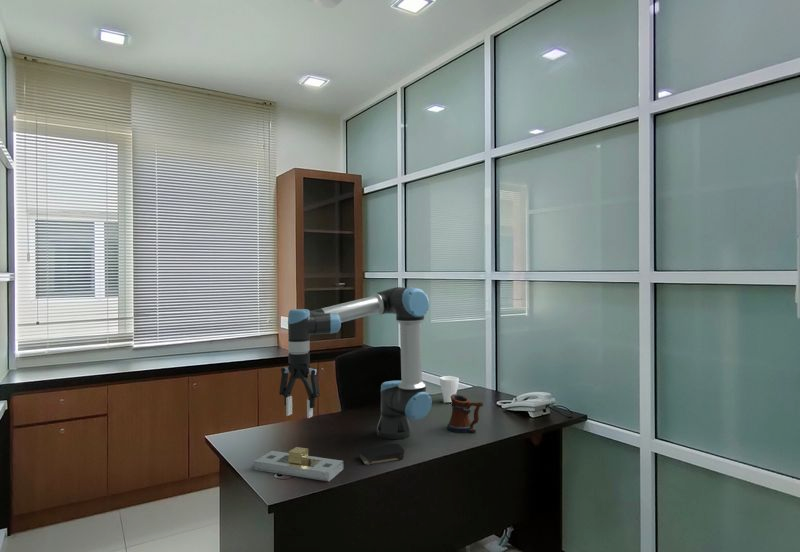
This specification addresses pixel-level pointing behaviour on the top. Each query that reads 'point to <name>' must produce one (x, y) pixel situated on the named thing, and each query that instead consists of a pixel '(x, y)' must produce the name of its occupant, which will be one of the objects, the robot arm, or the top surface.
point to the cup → (448, 387)
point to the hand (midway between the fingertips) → (299, 415)
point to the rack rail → (299, 466)
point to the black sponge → (381, 454)
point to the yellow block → (298, 456)
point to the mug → (462, 414)
